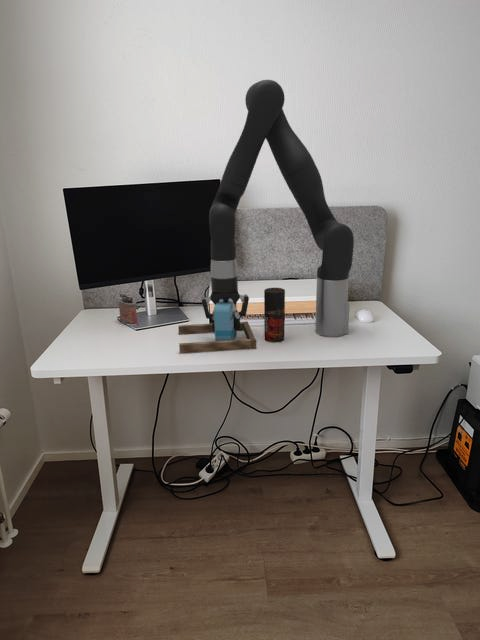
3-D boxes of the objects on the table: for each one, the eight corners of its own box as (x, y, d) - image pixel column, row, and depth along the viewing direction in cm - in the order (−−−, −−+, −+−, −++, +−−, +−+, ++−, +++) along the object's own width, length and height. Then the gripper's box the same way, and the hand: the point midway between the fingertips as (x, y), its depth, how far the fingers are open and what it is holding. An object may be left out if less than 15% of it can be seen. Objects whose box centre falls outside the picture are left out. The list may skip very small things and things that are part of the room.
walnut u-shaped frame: (247, 328, 161) (247, 321, 160) (256, 348, 145) (256, 340, 144) (178, 333, 159) (178, 325, 158) (179, 353, 143) (179, 345, 142)
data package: (230, 347, 146) (229, 307, 142) (215, 347, 147) (213, 307, 143) (237, 333, 157) (236, 295, 154) (222, 332, 158) (221, 295, 154)
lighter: (140, 324, 167) (138, 295, 164) (132, 327, 165) (129, 297, 161) (126, 319, 172) (123, 290, 169) (117, 322, 170) (114, 292, 167)
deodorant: (260, 339, 152) (260, 290, 147) (273, 334, 156) (273, 286, 151) (275, 344, 148) (276, 294, 143) (288, 338, 152) (289, 289, 147)
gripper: (247, 270, 150) (248, 324, 156) (198, 272, 149) (201, 328, 154) (251, 276, 143) (252, 333, 148) (199, 279, 141) (202, 336, 147)
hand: (226, 330), depth 151 cm, fingers closed on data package, 5 cm apart
